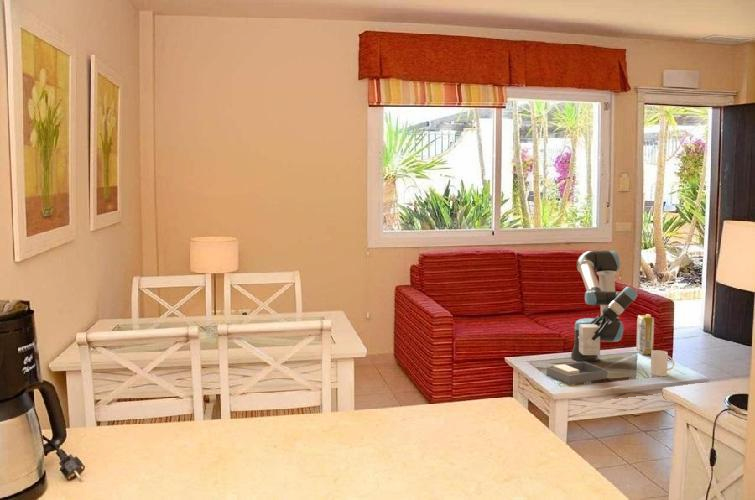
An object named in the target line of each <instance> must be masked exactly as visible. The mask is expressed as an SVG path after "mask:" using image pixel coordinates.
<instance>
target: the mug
mask: <svg viewBox="0 0 755 500" xmlns="http://www.w3.org/2000/svg"><path fill="white" fill-rule="evenodd" d="M650 356H651V358H650V359H651V360H650V372H649V373H650V374H651V375H653V376H657V377H666V376H668V371H671V370H672V369H673V368H674V366H675V361H674V359H673V358H672V357H671V356H669V355H668V351H664V350H660V349H658V350H657V349H656V350H655V349H653V351H651V355H650ZM668 359H670V360H671V361H672V366H671V367H668Z"/></svg>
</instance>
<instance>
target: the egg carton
mask: <svg viewBox="0 0 755 500" xmlns="http://www.w3.org/2000/svg"><path fill="white" fill-rule="evenodd" d="M565 364H566V363H564V364H563V363H561V364H557V365H552V366H553V369H555V370H558V371H560V372H563V373H565V374H568V375H574V374H579V370H578V369H575V368H573V367H570V366H567V365H565Z"/></svg>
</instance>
